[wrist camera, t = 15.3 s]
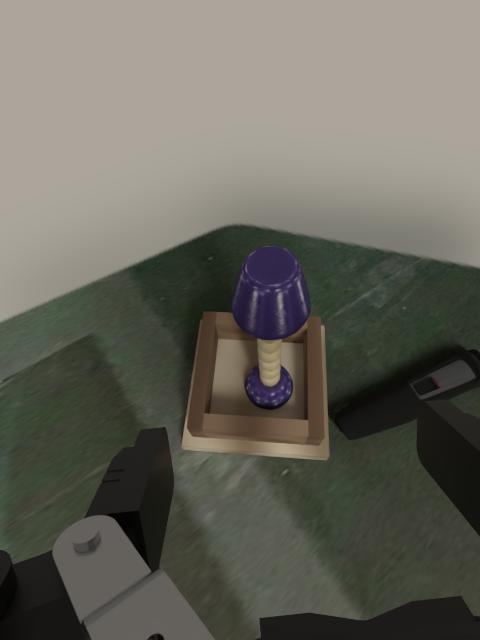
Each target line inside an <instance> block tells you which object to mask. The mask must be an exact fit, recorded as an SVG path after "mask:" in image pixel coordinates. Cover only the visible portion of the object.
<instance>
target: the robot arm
mask: <svg viewBox="0 0 480 640" xmlns="http://www.w3.org/2000/svg"><path fill="white" fill-rule="evenodd" d="M417 453H418V456H419V459H420V462H421V464H422V465H423V467H424V468H425V469H426V470H427V472H428V473H429V474H430V475H431V477H432V478H433V479H434V480H435V482H436V483H437V484H438V485H439V486H440V488H441V489H442V490H443V491H444V493H445V494H446V495H447V496H448V498H449V499H450V500H451V501H452V503H453V504H454V505H455V506H456V507H457V509H458V510H459V511H460V512H461V514H462V515H463V516H464V517H465V519H466V520H467V521H468V522H469V524H470V525H471V526H472V527H473V528H474V530H475V531H476V532H477V533H478V535H479V536H480V419H479V418H477V417H475V416H472V415H470V414H468V413H463V412H462V411H461V410H460V409H458V408H457V407H456V406H455V405H453V404H452V403H451V402H450V401H448V400H446V399H442V400H433V401H423V402H420V403H419V406H418V416H417ZM173 487H174V475H173V467H172V460H171V454H170V448H169V442H168V435H167V431H166V428H165V427H162V428H153V429H143V430H141V431H140V432H139V435H138V437H137V440H136V442H135V445H134V447H127V448H123V449H122V450H121V451H120V452H119V453H118V454H117V455H116V456H115V457H114V458H113V459H112V461H111V463H110V465H109V467H108V469H107V473H105V475H104V478H103V480H102V484H100V486H99V488H98V490H97V492H96V495H95V497H94V499H93V501H92V503H91V505H90V507H89V509H88V512H87V514H86V516H85V518H84V519H82V520H80V521H78V522H76V523H74V524H73V525H71V526H70V527H68V528H67V529H66V530H65V531H64V532H63V533H62V534H61V535H60V536H59V537H58V539H57V540H56V542H55V544H54V547H53V550H51V551H49V552H47V553H44V554H42V555H39V556H36V557H33V558H30V559H28V560H25V561H22V562H19V563H16V564H12V561H11V557H10V555H9V554H8V553H7V552H5V551H3V550H0V640H215V639H214V638H213V636H212V635H211V634H210V632H209V631H208V630H207V628H206V627H205V626H204V624H203V623H202V622H201V620H200V619H199V617H198V616H197V615H196V613H195V612H194V611H193V609H192V608H191V607H190V605H189V604H188V603H187V601H186V600H185V599H184V597H183V596H182V595H181V593H180V592H179V590H178V589H177V588H176V586H175V585H174V584H173V582H172V581H171V580H170V578H169V577H168V576H167V574H166V573H165V572H164V571H163V570H162V569H161V568H159V563H160V558H161V553H162V547H163V542H164V537H165V532H166V526H167V521H168V516H169V511H170V505H171V500H172V495H173ZM259 619H260V630H261V638H259V639H256V640H480V617H479V616H473V614H472V613H471V611H470V610H469V608H468V607H467V605H466V603H465V602H464V600H463V599H462V597H461V596H457V597H447V598H438V599H429V600H420V601H412V602H409V603H407V604H405V605H402V606H400V607H398V608H395V609H393V610H391V611H388V612H386V613H384V614H381V615H379V616H377V617H374V618H372V619H370V620H365V621H361V620H354V619H347V618H340V617H334V616H327V615H321V614H314V613H303V614H294V615H284V616H275V617H266V618H259Z"/></svg>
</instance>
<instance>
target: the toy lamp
mask: <svg viewBox="0 0 480 640" xmlns="http://www.w3.org/2000/svg"><path fill="white" fill-rule="evenodd" d="M310 307H311V305H310V296H309V292H308V289H307V285H306V282H305V278H304V275H303V272H302V268H301V265H300V263H299V261H298V259H297V258H296V257H295V255H294V254H293V253H292V252H290V251H289V250H287V249H285V248H283V247H280V246H272V245H271V246H263V247H260V248H258V249H255V250H254V251H252V252H251V253H250V254H249V255H248V256H247V257H246V258H245V260H244V262H243V264H242V267H241V270H240V273H239V276H238V278H237V282H236V285H235V289H234V292H233V296H232V301H231V310H232V314H233V317H234V319H235V321H236V323H237V325H238V326H239V327H240V328H241V329H242V330H243V331H244V332H246V333H247V334H249V335H250V336H253V337H255V338H257V343H258V348H257V351H258V362H259V364H258V365H257V366H255V367H254V368H252V370H251V371H250V372H249V373H248V375H247V378H246V381H245V391H246V394H247V396H248V398H249V400H250V401H251V402H252V403H253V404H254V405H256V406H257V407H259V408H262V409H267V410H273V409H277V408H279V407H281V406H283V405H284V404H286V403H287V402H288V400H289V399H290V397H291V395H292V392H293V381H292V378H291V376H290V374H289V372H288V371H287V370H286V369H285V368H284V367H283V366H281V365H280V363H281V343H282V339H284V338H287V337H289V336H291V335H293V334H295V333H296V332H298V331H299V330H300V329H301V328H302V327H303V325H304V324H305V323H306V321H307V319H308V317H309V313H310Z"/></svg>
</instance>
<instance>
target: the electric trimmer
mask: <svg viewBox="0 0 480 640" xmlns="http://www.w3.org/2000/svg"><path fill="white" fill-rule="evenodd" d="M477 387H480V353H479V352H478V351H477V350H474V349H472V350H469V351H459V352H458V353H457V354H455V355H453V356H451V357H449V358H447V359H446V360H444V361H442V362H440V363H438V364H436V365H434V366H431V367H429V368H427V369H425V370H423V371H421V372H419V373H417V374H415V375H413V376H410V377H408V378H405V379H403V380H400V381H395V382H393V383H390V384H388V385H386V386H385V387H383V388H381V389H379V390H377V391H375V392H373V393H372V394H370V395H368V396H366V397H364V398H363V399H361V400H359V401H357V402H355V403H354V404H352V405H350V406H348V407H346V408H345V409H343V410H342V411H340V412H339V413H337V414H336V415H335V417H336V421H337V423H338V425H339V427H340V429H341V430H342V432H343V433H344V435H345V436H346V437H347V438H348V439H349V440H354V439H358V438H361V437H365V436H368V435H371V434H374V433H377V432H380V431H383V430H386V429H390V428H393V427H396V426H399V425H402V424H405V423H407V422H410V421H413V420H415V419H417V416H418V406H419V403H420V402H423V401H433V400H442V399H446V400H448V399H451V398H453V397H455V396H457V395H460V394H462V393H464V392H467V391H469V390H472V389H474V388H477Z"/></svg>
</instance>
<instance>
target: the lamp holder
mask: <svg viewBox="0 0 480 640" xmlns="http://www.w3.org/2000/svg"><path fill="white" fill-rule="evenodd" d="M257 348H258V343H257V338H255V337H253V336H250V335H249V334H247V333H246V332H244V331H243V330H242V329H241V328H240V327H239V326H238V325H237V323H236V321H235V319H234V317H233V314H232V313H230V312H208V311H204V313H203V320H200V326H199V332H198V339H197V346H196V352H195V359H194V366H193V372H192V379H191V386H190V393H189V399H188V406H187V413H186V419H185V426H184V433H183V439H182V447H183V449H184V450H195V451H208V452H222V453H235V454H249V455H262V456H276V457H289V458H303V459H317V460H327V459H328V458H329V434H328V408H327V382H326V356H325V330H324V326H321V317H315V316H309V317H308V319H307V321H306V323H305V324H304V325H303V327H302V328H301V329H300V330H299V331H298V332H296V333H295V334H293V335H291V336H289V337H287V338H284V339H282V343H281V363H280V365H281V366H283V367H284V368H285V369H286V370H287V371H288V372H289V374H290V376H291V378H292V381H293V392H292V395H291V397H290V399H289V400H288V402H287V403H286V404H284V405H283V406H281V407H279V408H277V409H273V410H267V409H262V408H259V407H257V406H256V405H254V404H253V403H252V402H251V401H250V400H249V398H248V396H247V394H246V391H245V381H246V378H247V375H248V373H249V372H250V371H251V370H252V368H254V367H255V366H257V365H258V364H259V362H258V351H257Z"/></svg>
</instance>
